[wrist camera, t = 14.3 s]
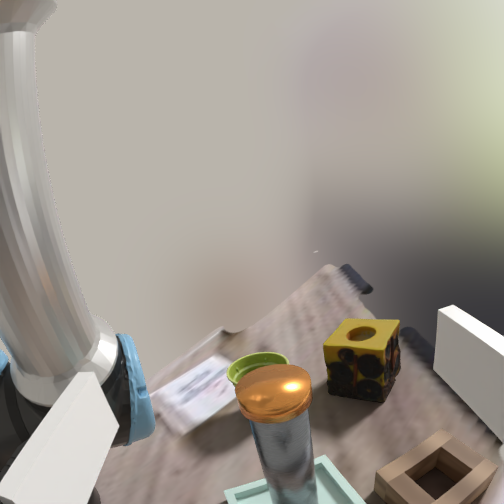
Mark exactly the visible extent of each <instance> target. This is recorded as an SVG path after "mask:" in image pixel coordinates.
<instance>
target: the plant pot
mask: <svg viewBox="0 0 504 504" xmlns="http://www.w3.org/2000/svg"><path fill="white" fill-rule="evenodd" d="M274 364H289V361H288V359H287V358H286V357H285V356H283V355H281V354H278V353H274V352H262V353H254V354H250V355H247V356H244V357H242V358H240V359H238V360H236V361H235V362H233V363H232V364H231V365H230V366H229V368H228V369H227V377H228V379H229V380H230V381H231V382H232V383H233V385H234V386H235V387H236V385H237V383H238V381H239V380H240V379H241V378H242V377H243V376H244V375H246V374H247V373H249V372H251V371H253V370H255V369H258V368H260V367H264V366H268V365H274Z"/></svg>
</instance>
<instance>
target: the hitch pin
mask: <svg viewBox="0 0 504 504" xmlns="http://www.w3.org/2000/svg"><path fill="white" fill-rule="evenodd" d="M235 393H236V397H237V401H238V404H239V408H240V411H241V413H242V414H243V415H244V416H245V417H246V418H248V419H249V422H250V425H251V429H252V433H253V437H254V440H255V444H256V448H257V451H258V455H259V458H260V462H261V465H262V469H263V473H264V476H265V479H266V483H267V486H268V490H269V493H270V497H271V500H272V503H273V504H318V495H317V485H316V475H315V465H314V456H313V447H312V439H311V430H310V422H309V413H308V407H309V406H310V404H311V402H312V387H311V379H310V376H309V374H308V373H307V371H305V370H304V369H302V368H300V367H298V366H295V365H289V364H274V365H268V366H264V367H260V368H258V369H255V370H253V371H251V372H249V373H247V374H246V375H244V376H243V377H242V378H241V379H240V380H239V381H238V383H237V385H236V387H235Z"/></svg>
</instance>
